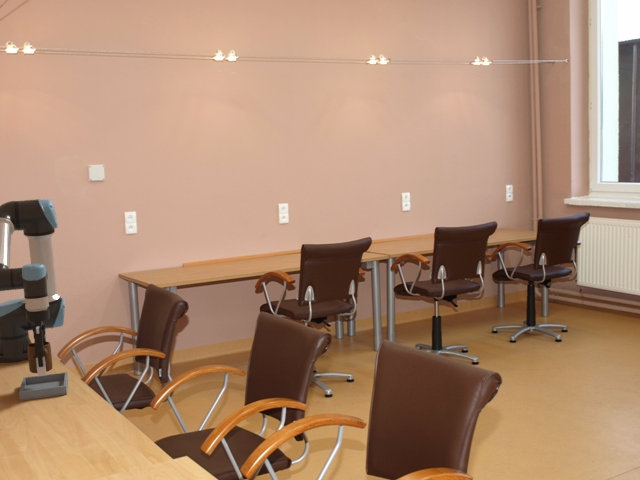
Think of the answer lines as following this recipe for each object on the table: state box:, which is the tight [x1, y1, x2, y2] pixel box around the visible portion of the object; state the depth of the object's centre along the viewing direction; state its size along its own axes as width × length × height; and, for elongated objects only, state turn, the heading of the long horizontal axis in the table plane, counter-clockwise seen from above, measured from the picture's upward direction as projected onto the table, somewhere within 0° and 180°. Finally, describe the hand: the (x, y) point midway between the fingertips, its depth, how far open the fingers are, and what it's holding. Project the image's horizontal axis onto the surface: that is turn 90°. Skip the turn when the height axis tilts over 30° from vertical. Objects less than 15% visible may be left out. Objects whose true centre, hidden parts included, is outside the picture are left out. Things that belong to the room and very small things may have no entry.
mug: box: [27, 341, 53, 374], centre depth 248 cm, size 12×8×9 cm, turn 37°
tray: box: [18, 371, 69, 402], centre depth 249 cm, size 17×15×3 cm
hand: (43, 370), depth 249 cm, fingers closed on mug, 11 cm apart
